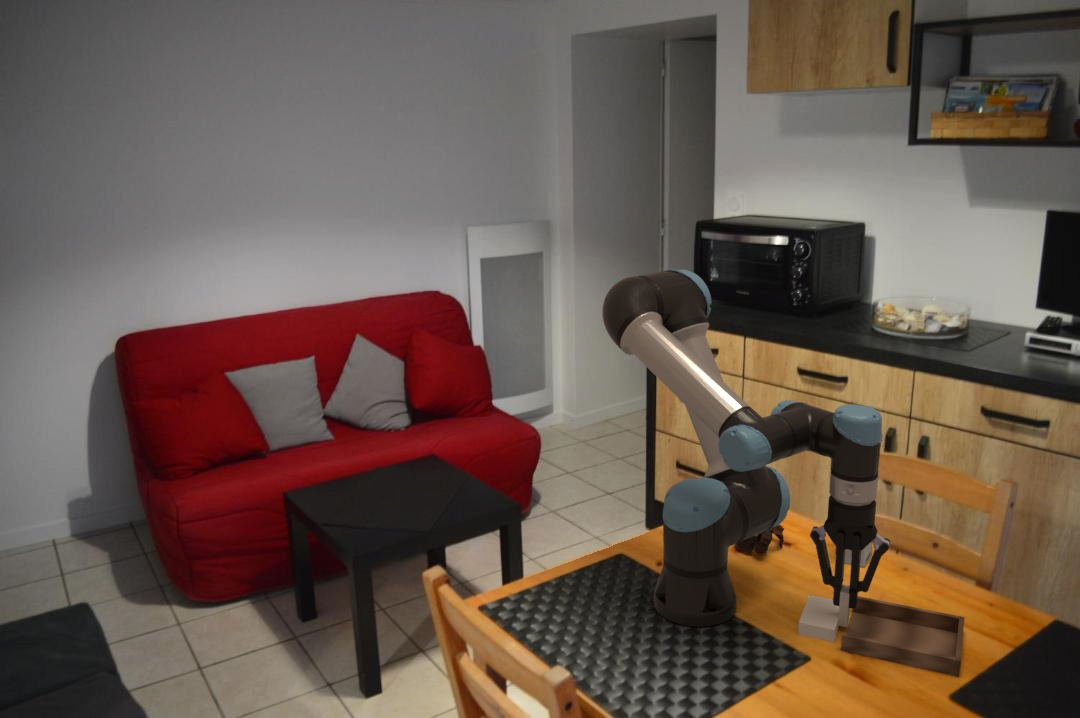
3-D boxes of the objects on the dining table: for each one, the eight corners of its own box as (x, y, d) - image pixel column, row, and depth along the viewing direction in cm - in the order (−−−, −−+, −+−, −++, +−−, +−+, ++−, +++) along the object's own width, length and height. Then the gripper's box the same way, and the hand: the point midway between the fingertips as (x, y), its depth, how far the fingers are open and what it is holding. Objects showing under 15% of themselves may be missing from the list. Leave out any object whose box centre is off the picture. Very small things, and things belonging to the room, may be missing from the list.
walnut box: (840, 656, 150) (841, 635, 149) (852, 615, 162) (854, 595, 161) (958, 683, 142) (960, 661, 141) (962, 637, 154) (964, 617, 153)
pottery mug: (727, 541, 192) (743, 506, 192) (766, 559, 192) (783, 525, 192) (740, 553, 180) (757, 516, 180) (782, 573, 180) (800, 536, 180)
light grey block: (797, 637, 154) (798, 622, 154) (808, 609, 163) (809, 594, 162) (834, 645, 152) (834, 630, 151) (842, 616, 160) (843, 601, 160)
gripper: (808, 499, 149) (801, 625, 155) (891, 513, 143) (880, 642, 149) (816, 483, 155) (809, 603, 162) (896, 495, 150) (885, 619, 156)
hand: (843, 622), depth 155 cm, fingers closed
